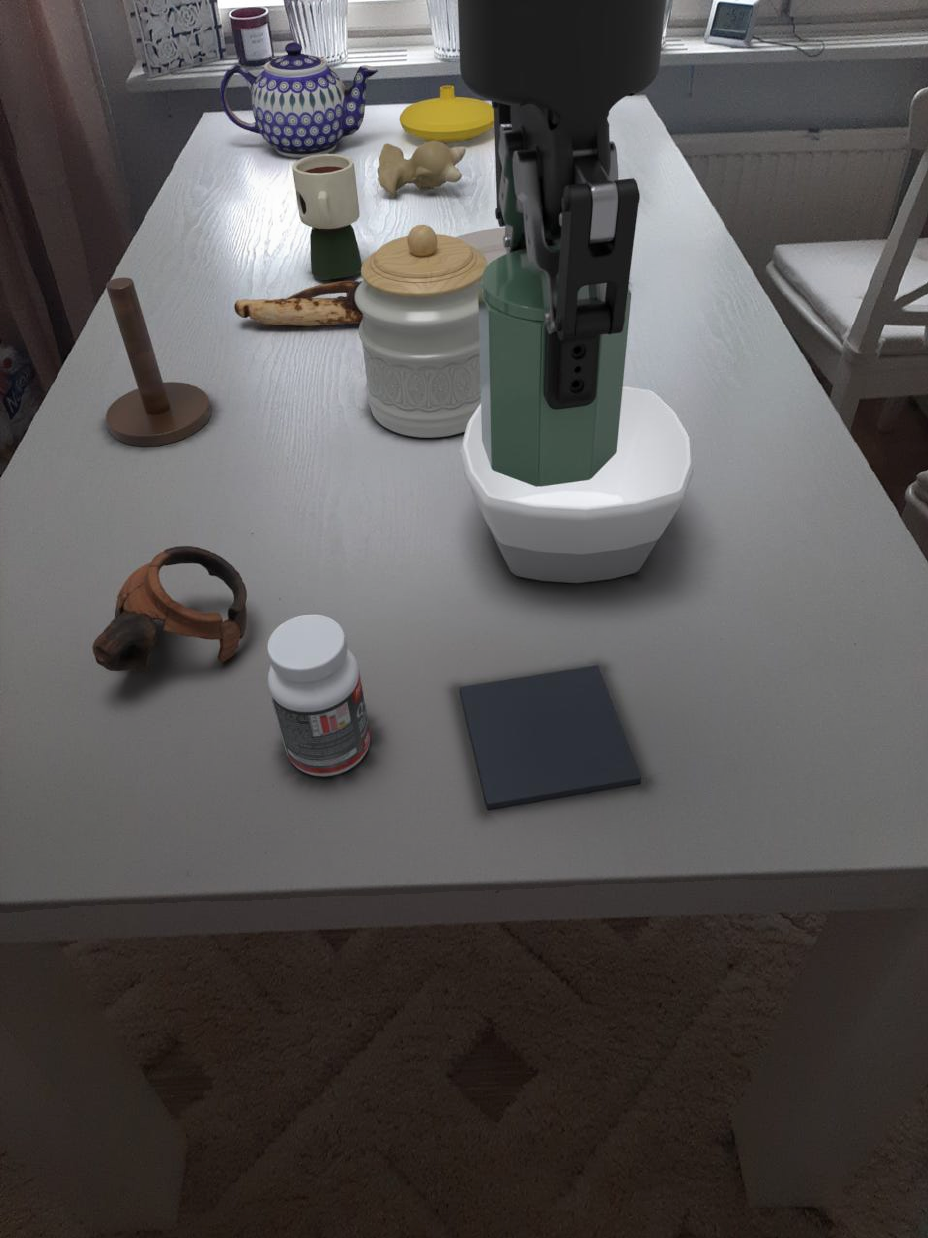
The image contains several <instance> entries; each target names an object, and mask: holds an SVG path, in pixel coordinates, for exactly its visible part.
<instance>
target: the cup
mask: <svg viewBox="0 0 928 1238" xmlns="http://www.w3.org/2000/svg"><path fill="white" fill-rule="evenodd" d="M549 247H550V248H551V249H553V250H560V246H549ZM587 298H589V285H585V286H583V287H581V288H580V290H579V291H578V298H577V300H578V299H587ZM631 303H632V292H631V291H630V289H629V288H628V294H627V302H626V310H625V321H624V326H623V330H622V332H621V333H616V334H602V335H600V344H599V359H598V374H597V389H596V397H595V400H594V401H593V402H592V403H591V404H589V405H587V406H582V407H574V408H566V409H559V410H555V409H552V408H550V407H549V405H548V403H547V401H546V399H545V397H544V365H545V328H546V325H544V321H543V314H544V302H543V291H542V281H541V278H540V277H539V276H538V275H536V274H534V273H533V272H531V270H530V269H529V266H528V259H527V248H526V249H521V250H517V251H513V252H510V253H508V254H505V255H503V256H501V257H499V258H497V259H495V260H494V261H492V262H491V263H490V264H489V265H488V266H487V267H486V268H485V270H484V272H483V274H482V282H481V283H479V285H478V309H479V347H480V384H481V422H482V442H483V445H484V448H485V451H486V454H487V457H488V460H489V463H490V465H491V468H492V470H493V471H496V472H498V473H501V474H504V475H506V476H509V477H512V478H514V479H517V480H520V481H522V482H525V483H528V484H530V485H533V486H536V487H538V486H539V487H542V486H549V485H556V484H563V483H570V482H578V481H585V480H590V479H592V478H593V477H594V476H595V475H596V474H597V473H598V471H599V470H600V469H601V468H602V467H603V466H604V465H605V464H606V463H607V462H608V461H609V460H610V459H611V458H612V457H613V456H614V455H615V454H616V452H617V442H618V432H619V421H620V411H621V400H622V389H623V386H624V379H625V378H624V377H625V367H626V357H627V356H626V355H627V346H628V334H629V325H630V315H631Z"/></svg>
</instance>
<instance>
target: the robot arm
mask: <svg viewBox="0 0 928 1238" xmlns="http://www.w3.org/2000/svg"><path fill="white" fill-rule="evenodd" d="M666 1H667V0H457V18H458V45H459V48H458V49H459V71H460V76H461V79H462V81H463V83H464V85H465V86H466V87H467V88H468V90H470V91H471V92H472V93H474V94H475V95H477V96H479V97H481V98H483V99H485V100H488V101H490V102H491V106H492V107H493V108H494V125H493V129H494V130H493V133H494V162H495V163H494V165H495V167H494V169H495V194H496V195H495V196H496V198H495V199H496V200H495V201H496V207H495V210H494V214H495V219H496V220H497V224H498V226H499V228H505V236H504V237H503V245H504V248H506V252H507V254H508V253H510V252H513V251H517V250H521V249H526V248H527V259H528V266H529V269H530V270H531V272H533V273H534V274H536V275H538V276H539V277H540V278H541V281H542V291H543V302H544V314H543V321H544V325H546V328H545V365H544V397H545V399H546V401H547V403H548V405H549V407H550V408H552V409H555V410H559V409H566V408H574V407H582V406H587V405H589V404H591V403H592V402H593V401H594V400H595V397H596V389H597V374H598V359H599V344H600V335H602V334H616V333H621V332H622V330H623V326H624V321H625V310H626V302H627V294H628V289H629V286H630V285H629V284H630V277H631V270H632V269H631V268H632V260H633V252H634V243H635V237H636V228H637V221H638V211H639V204H640V199H641V197H640V196H641V193H640V190H639V186H638V182H637V180H636V178H634V177H631V178H624V179H622V178H621V179H619V164H618V152H617V146H616V143H615V142H614V141H612V140H610V138H611V137H610V122H609V120H608V119H609V115H610V111H611V109H613V107H614V106H615V105H616V104H617V103H618V102H620V101H621V100H622V99H624V98H625V97H633V96H635V95H637V94H639V93H640V92H643V91H644V90H645V89H647V88H648V87H649V86H650V85H651V84H652V83H653V82H654V80H655V79H656V78H657V75H658V73H659V70H660V66H661V64H660V63H661V55H662V44H663V43H662V42H663V32H664V22H665V14H666V13H665V12H666ZM549 246H560V250H553V249H551V248H550V247H549ZM585 285H589V298H587V299H578V300H577V298H578V291H579V290H580V288H581V287H583V286H585Z"/></svg>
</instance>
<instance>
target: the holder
mask: <svg viewBox="0 0 928 1238" xmlns="http://www.w3.org/2000/svg"><path fill="white" fill-rule="evenodd" d="M105 288H106V292H107V294H108V298H109V301H110V304H111V307H112V310H113V313H114V317H115V320H116V323H117V325H118V329H119V332H120V335H121V338H122V341H123V346H124V348H125V351H126V354H127V358H128V360H129V364H130V367H131V370H132V373H133V377H134V379H135V383H136V386H137V388H135V389H133V390H130V391H128V392H127V393H124V394H123V395H120V397H118V398H117V399H116V400H114V401H113V403H111V405H110V406H109V407H108V409H107V411H106V414H105V421H106V424H107V427H108V430H109V433H110V434H111V436H112V437H113V438H114V439H116V440H117V441H118V442H121V443H122V444H125V445H128V446H134V447H143V448H144V447H160V446H164V445H170V444H173V443H176V442H180V441H182V440H184V439H187V438H188V437H189V438H190V437H191V436H192V435H194V434H196V433H197V432H199V431H200V430H201V429H203V428H204V427H205V425H206V424H207V423H208V422H209V421H210V419H211V418H210V417H211V415H212V408H211V407H212V406H211V403H210V399H209V397H208V395H207V393H206V392H205V391H204V390H203V389H201V388H200V387H198V386H196V385H193V384H190V383H185V382H175V381H170V382H169V381H167V382H164V381H163V378H162V374H161V371H160V368H159V365H158V360H157V357H156V354H155V350H154V348H153V344H152V341H151V338H150V337H151V336H150V334H149V333H150V332H149V329H148V326H147V322H146V320H145V317H144V313H143V309H142V306H141V303H140V300H139V295H138V293H137V290H136V286H135V282H134V280H133V279H132V278H130V277H116V278H114V279H111V280H109V281H107V283H106V284H105Z"/></svg>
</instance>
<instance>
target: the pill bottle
mask: <svg viewBox="0 0 928 1238" xmlns="http://www.w3.org/2000/svg"><path fill="white" fill-rule="evenodd" d="M345 635H346V634H345V632H344V630H343V628H342V626H341V625H340V624H339V623H338V622H337V621H336V620H334V619H333V618H331V617H328V616H326V615H321V614H302V615H298V616H294V617H291V618H290V619H288V620H286V621H284V622H282V623H281V624H280V625H279V626H277V627H276V628H274V630H273V632H271V634H270V636H269V638H268V641H267V646H266V647H267V654H268V658H269V662H270V666H269V669H268V673H267V686H268V690H269V692H268V693H269V696H270V699H271V702H272V706H273V709H274V712H275V716H276V720H277V724H278V728H279V732H280V734H281V738H282V743H283V745H284V748H285V752H286V755H287V757H288V759H289V761H290V762H291V764H292V765H293V766H294V767H295V768H296V769H298V770H299V771H301V772H303V773H305V774H307V775H310V776H314V777H331V776H336V775H341V774H343V773H345V772H347V771H349V770H351V769H352V768H354V767H355V766H356V765H358V764H359V763H360V762H361V761H362V759H363V758H364V757H365V755H366V754H367V752H368V750H369V748H370V743H371V729H370V723H369V722H370V721H369V718H368V711H367V706H366V702H365V696H364V690H363V685H362V678H361V673H360V667H359V663H358V661H357V659H356V657H355V656H354V654H353V653H352V652H351V650H349V648H348V643H347V640H346V636H345Z"/></svg>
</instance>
